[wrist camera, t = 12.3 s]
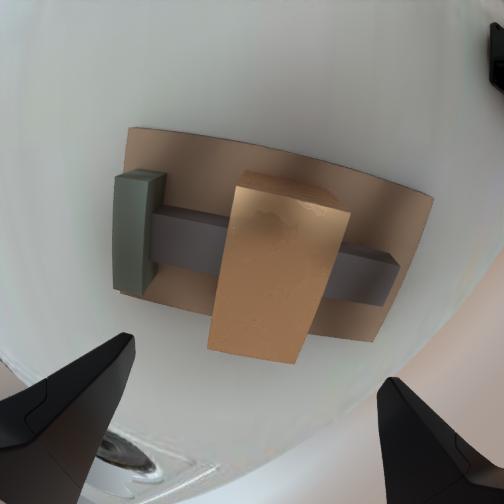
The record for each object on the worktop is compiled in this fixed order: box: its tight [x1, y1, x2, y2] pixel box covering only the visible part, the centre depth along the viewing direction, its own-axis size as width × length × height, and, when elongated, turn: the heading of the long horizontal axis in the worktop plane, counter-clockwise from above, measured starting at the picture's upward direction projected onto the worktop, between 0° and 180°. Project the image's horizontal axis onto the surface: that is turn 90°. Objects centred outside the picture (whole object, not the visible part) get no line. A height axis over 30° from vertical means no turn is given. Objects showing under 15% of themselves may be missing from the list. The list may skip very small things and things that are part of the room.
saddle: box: [207, 170, 351, 364], centre depth 16 cm, size 5×9×5 cm, turn 168°
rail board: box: [112, 127, 434, 342], centre depth 17 cm, size 20×12×4 cm, turn 78°
